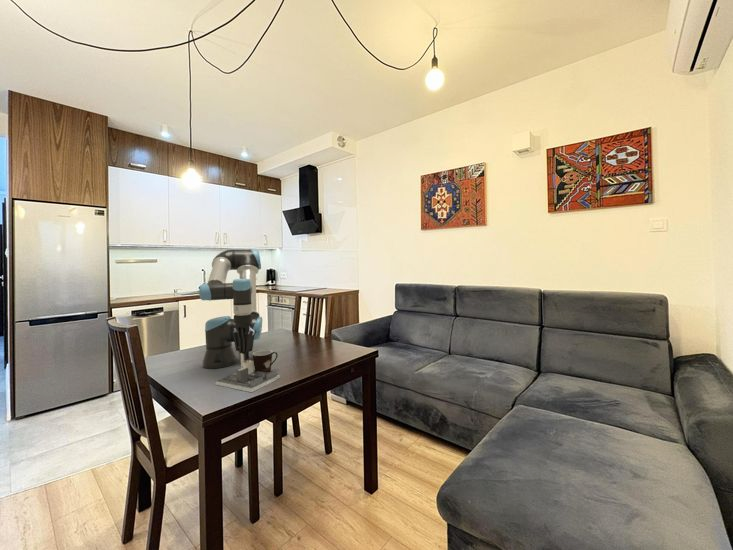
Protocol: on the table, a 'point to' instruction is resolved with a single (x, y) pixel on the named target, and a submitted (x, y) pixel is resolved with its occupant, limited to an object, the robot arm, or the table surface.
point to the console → (249, 381)
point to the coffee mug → (263, 360)
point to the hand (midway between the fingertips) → (244, 367)
